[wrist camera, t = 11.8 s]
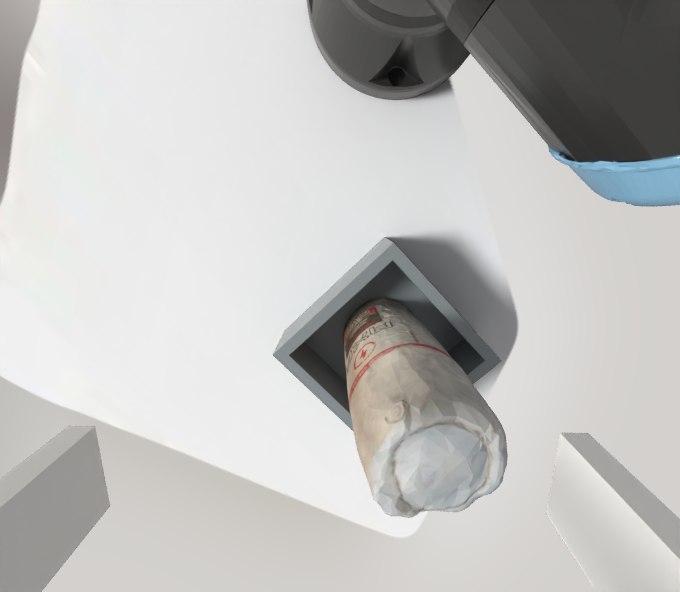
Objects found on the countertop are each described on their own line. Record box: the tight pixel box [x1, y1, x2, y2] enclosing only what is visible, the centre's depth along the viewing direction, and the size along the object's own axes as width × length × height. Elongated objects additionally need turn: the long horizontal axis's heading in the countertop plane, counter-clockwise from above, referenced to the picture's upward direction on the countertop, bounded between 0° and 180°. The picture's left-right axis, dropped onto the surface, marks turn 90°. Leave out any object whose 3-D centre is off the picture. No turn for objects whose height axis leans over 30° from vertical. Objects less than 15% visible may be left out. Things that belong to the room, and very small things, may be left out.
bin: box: [273, 237, 501, 431], centre depth 34 cm, size 14×14×6 cm
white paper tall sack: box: [343, 297, 507, 518], centre depth 26 cm, size 8×8×20 cm
